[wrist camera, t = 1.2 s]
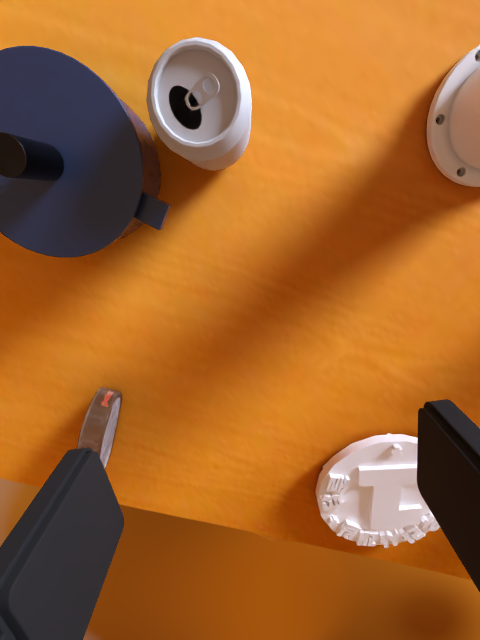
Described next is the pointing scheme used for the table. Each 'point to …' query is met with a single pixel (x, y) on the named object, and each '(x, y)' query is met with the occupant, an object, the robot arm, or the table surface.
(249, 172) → the table surface
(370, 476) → the embossed medallion
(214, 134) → the can
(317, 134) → the table surface
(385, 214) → the table surface
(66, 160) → the pot lid
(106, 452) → the tin
